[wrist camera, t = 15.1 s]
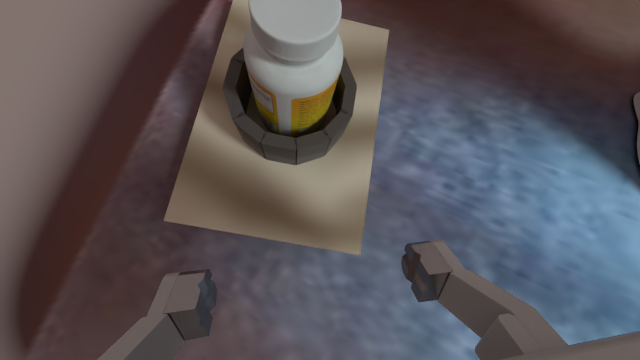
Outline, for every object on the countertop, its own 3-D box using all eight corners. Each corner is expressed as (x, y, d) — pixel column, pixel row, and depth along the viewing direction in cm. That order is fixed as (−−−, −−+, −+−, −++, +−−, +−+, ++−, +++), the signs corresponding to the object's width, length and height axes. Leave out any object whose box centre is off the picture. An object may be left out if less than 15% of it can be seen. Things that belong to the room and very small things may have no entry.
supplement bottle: (251, 133, 19) (211, 36, 10) (268, 74, 20) (248, -63, 11) (319, 149, 19) (344, 71, 10) (332, 90, 20) (366, -29, 11)
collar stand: (239, 8, 23) (224, -53, 18) (383, 42, 24) (406, -7, 19) (173, 221, 18) (130, 217, 14) (355, 253, 19) (375, 260, 14)
